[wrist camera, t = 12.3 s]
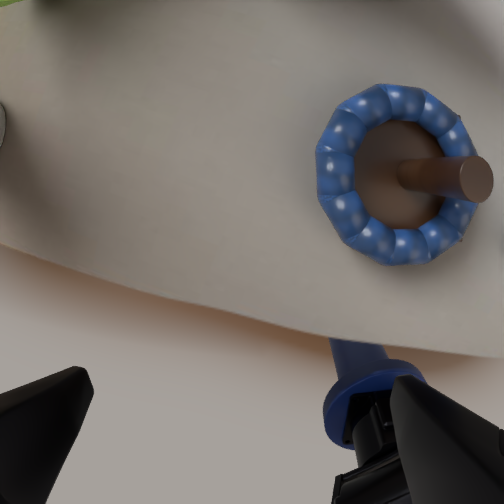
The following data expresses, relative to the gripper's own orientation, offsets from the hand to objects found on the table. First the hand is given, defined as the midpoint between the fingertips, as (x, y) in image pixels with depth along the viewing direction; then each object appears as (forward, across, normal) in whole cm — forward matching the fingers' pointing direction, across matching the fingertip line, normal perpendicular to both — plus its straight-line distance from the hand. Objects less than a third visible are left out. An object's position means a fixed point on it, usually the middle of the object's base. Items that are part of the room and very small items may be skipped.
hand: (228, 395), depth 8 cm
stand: (+12, -9, -6) cm, 16 cm away
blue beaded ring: (+10, -8, -6) cm, 14 cm away
